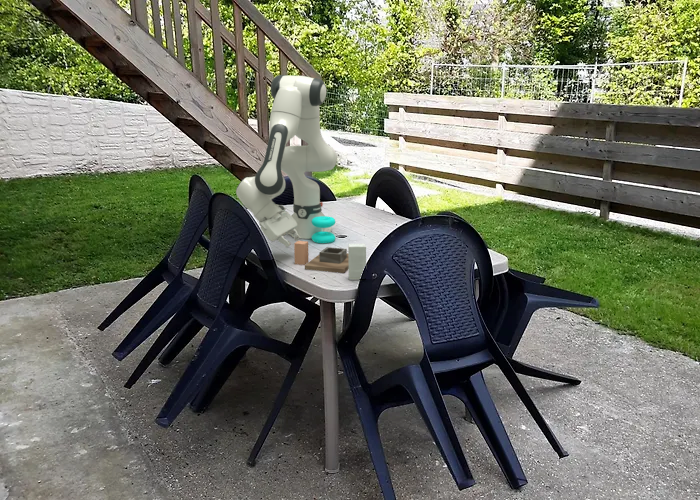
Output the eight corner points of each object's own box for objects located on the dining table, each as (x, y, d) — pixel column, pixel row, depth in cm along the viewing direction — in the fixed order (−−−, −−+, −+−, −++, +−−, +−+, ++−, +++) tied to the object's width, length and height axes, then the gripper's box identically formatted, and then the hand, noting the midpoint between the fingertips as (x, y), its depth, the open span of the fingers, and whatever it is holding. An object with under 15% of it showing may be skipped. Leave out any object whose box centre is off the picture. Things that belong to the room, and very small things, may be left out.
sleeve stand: (323, 254, 250) (323, 242, 248) (360, 258, 246) (360, 245, 244) (304, 269, 231) (304, 256, 230) (344, 273, 227) (344, 259, 226)
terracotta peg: (298, 261, 241) (298, 240, 239) (308, 262, 240) (308, 241, 238) (294, 264, 238) (294, 243, 236) (304, 265, 237) (304, 244, 234)
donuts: (314, 215, 273) (337, 216, 271) (315, 237, 276) (337, 238, 274) (308, 220, 264) (332, 221, 262) (309, 243, 266) (332, 244, 265)
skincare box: (365, 276, 224) (365, 243, 221) (366, 280, 220) (366, 246, 217) (348, 276, 224) (348, 243, 220) (348, 280, 220) (348, 246, 216)
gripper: (262, 215, 227) (288, 244, 227) (285, 204, 246) (309, 231, 246) (251, 226, 229) (277, 255, 229) (274, 215, 248) (298, 241, 248)
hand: (294, 242), depth 238 cm, fingers open, 8 cm apart
